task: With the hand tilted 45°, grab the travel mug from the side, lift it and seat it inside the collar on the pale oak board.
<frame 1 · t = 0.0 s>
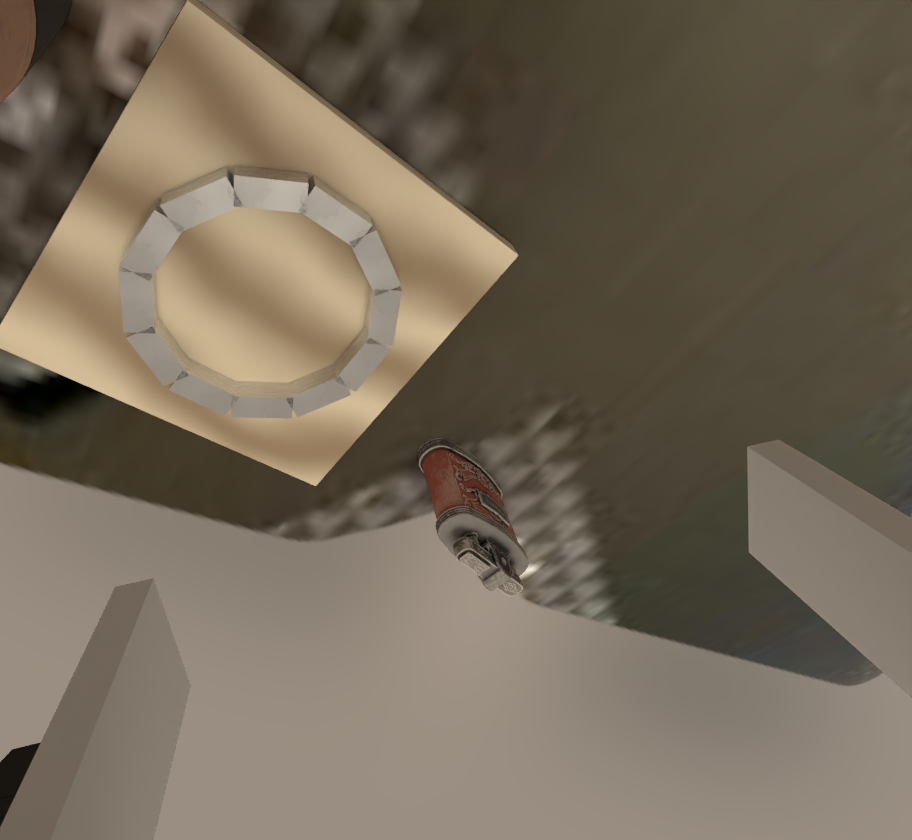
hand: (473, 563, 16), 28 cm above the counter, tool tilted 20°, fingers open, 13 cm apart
dock board: (265, 284, 41), on the counter
dock collar: (266, 304, 39), on the dock board, point 2 cm above the counter
lighter: (458, 470, 53), on the counter
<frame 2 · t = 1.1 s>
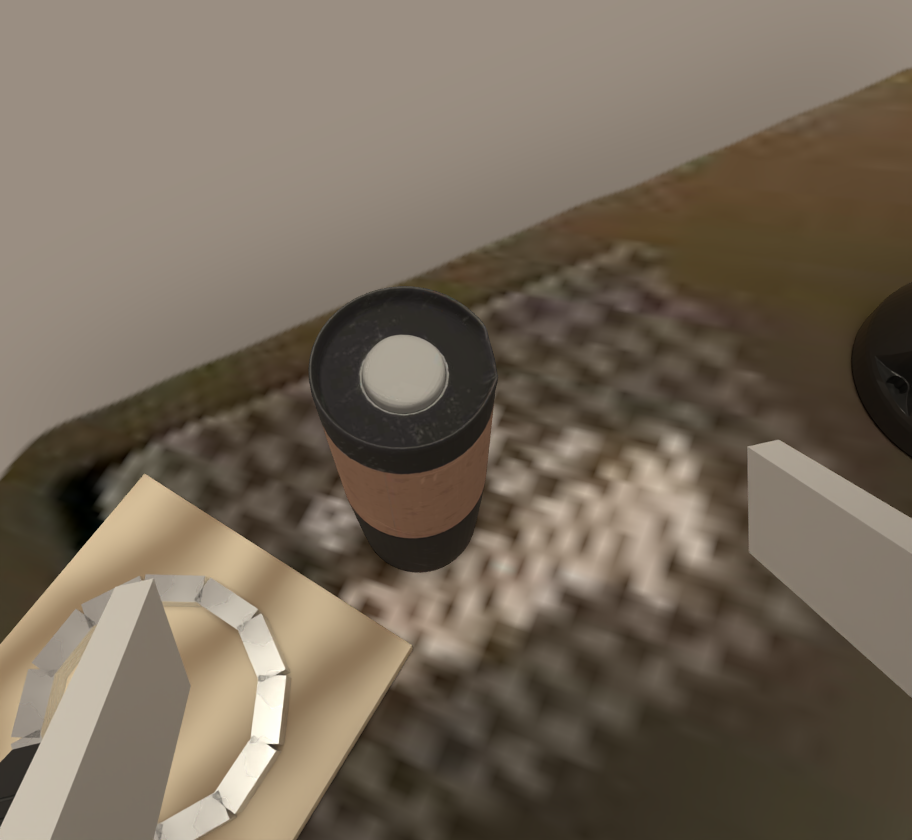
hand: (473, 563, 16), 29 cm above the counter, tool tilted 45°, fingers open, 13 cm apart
dock board: (170, 709, 42), on the counter
dock collar: (156, 706, 40), on the dock board, point 2 cm above the counter
travel mug: (419, 518, 47), on the counter
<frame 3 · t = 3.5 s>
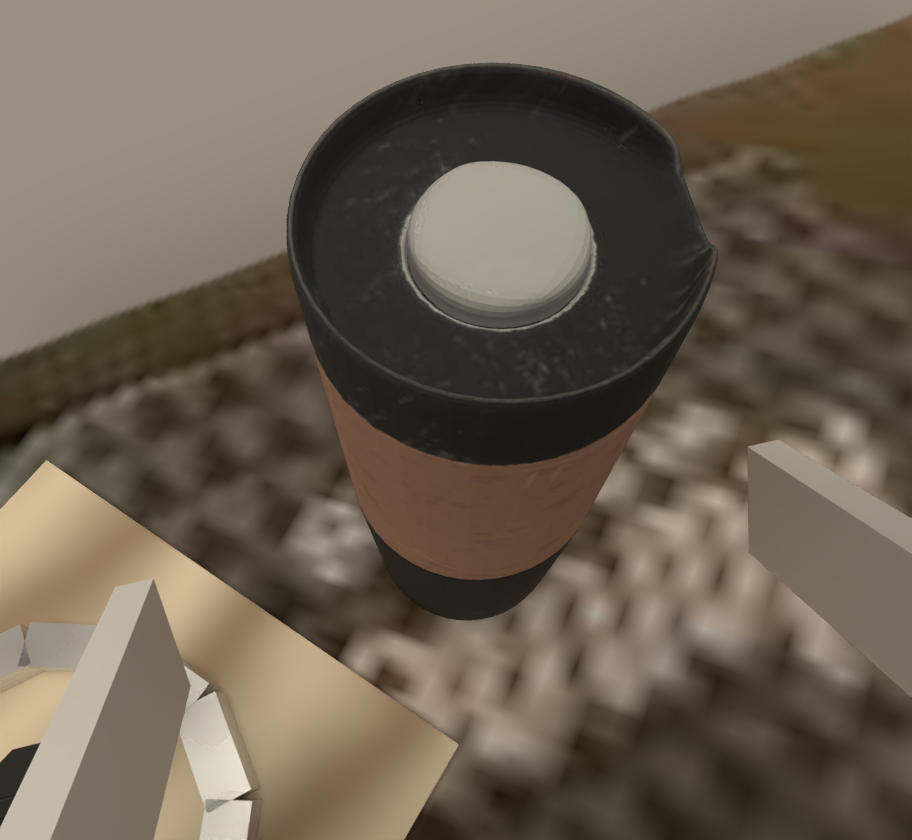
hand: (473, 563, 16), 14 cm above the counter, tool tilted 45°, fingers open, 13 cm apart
travel mug: (466, 535, 31), on the counter
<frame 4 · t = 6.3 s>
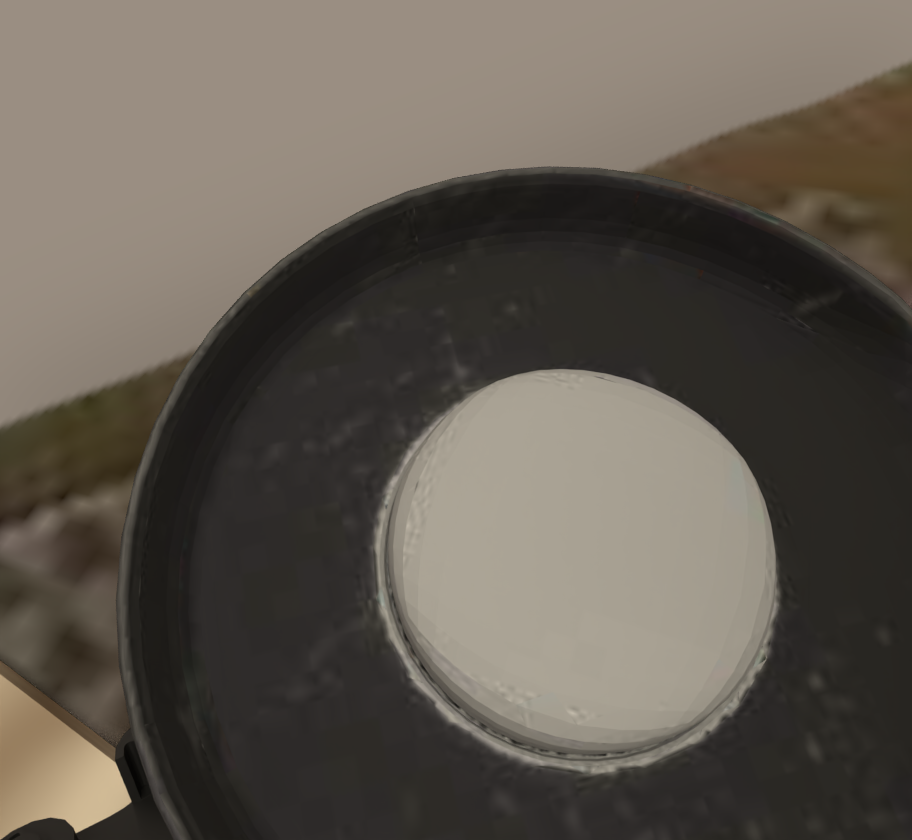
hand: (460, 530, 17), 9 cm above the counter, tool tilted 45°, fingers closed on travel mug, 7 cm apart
travel mug: (478, 708, 24), on the counter, touching gripper
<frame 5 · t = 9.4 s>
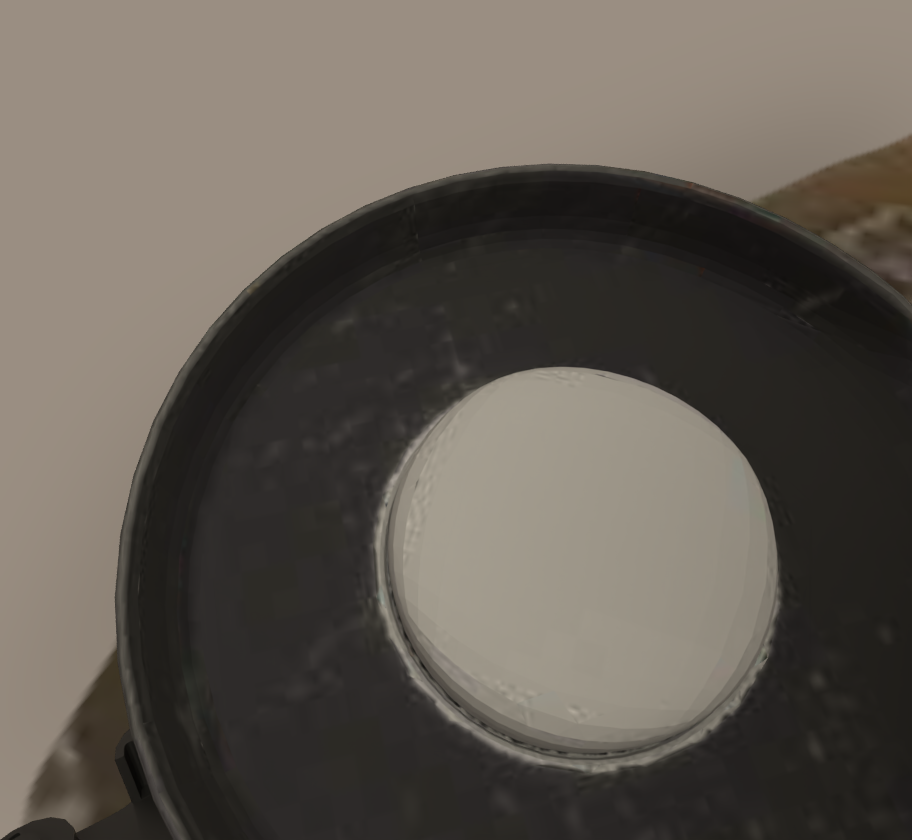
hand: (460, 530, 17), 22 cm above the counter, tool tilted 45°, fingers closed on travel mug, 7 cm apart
travel mug: (478, 708, 24), point 13 cm above the counter, touching gripper
when the fingers open (11 cm above the counter, at t = 12.6 s): travel mug drops 1 cm, resting on dock board.
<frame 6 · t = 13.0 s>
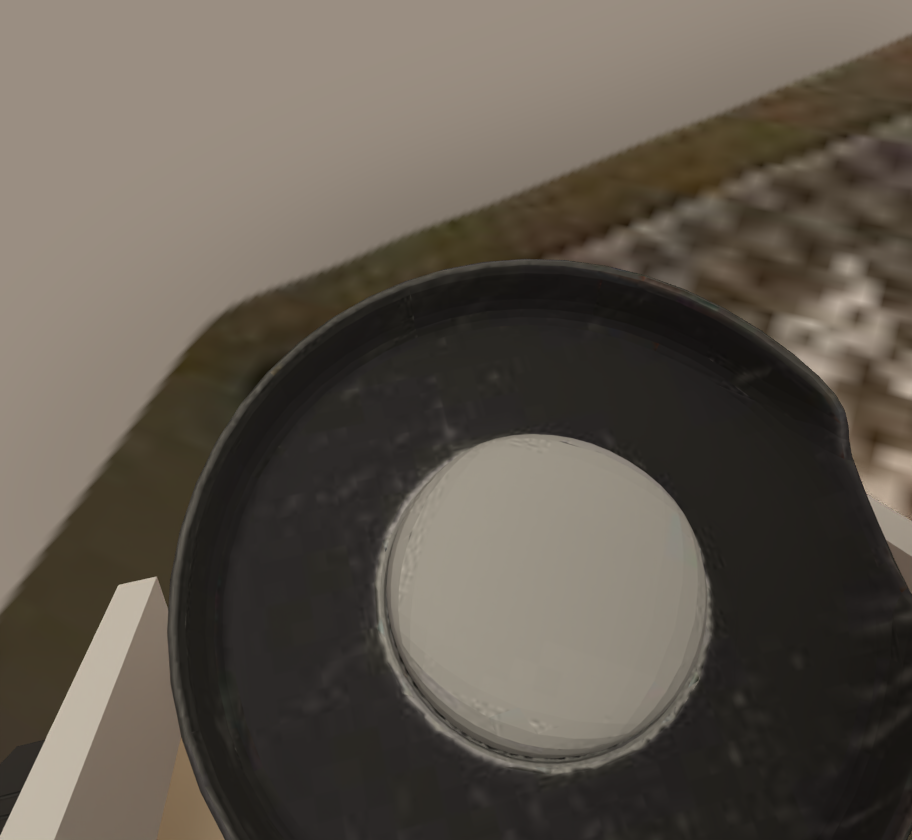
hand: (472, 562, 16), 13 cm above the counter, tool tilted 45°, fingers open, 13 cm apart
dock board: (475, 713, 27), on the counter
travel mug: (477, 713, 25), point 1 cm above the counter, touching dock board
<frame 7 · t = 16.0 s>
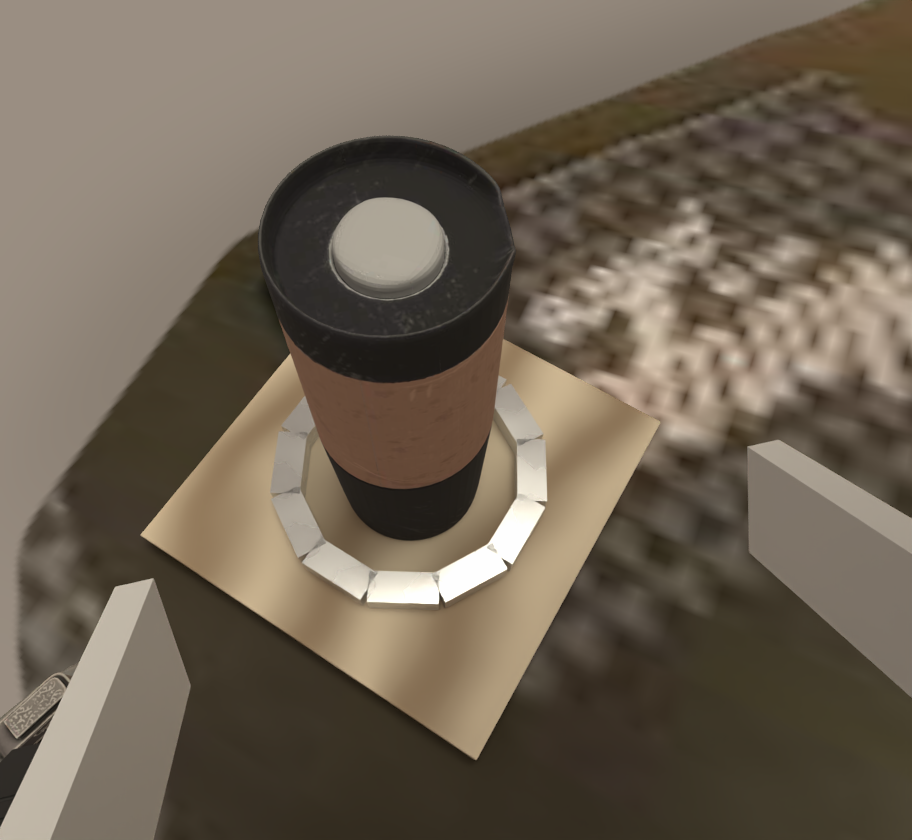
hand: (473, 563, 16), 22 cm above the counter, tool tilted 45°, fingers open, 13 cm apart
dock board: (412, 485, 41), on the counter
dock collar: (410, 470, 39), on the dock board, point 2 cm above the counter
travel mug: (411, 478, 39), point 1 cm above the counter, touching dock board
lighter: (104, 756, 35), on the counter
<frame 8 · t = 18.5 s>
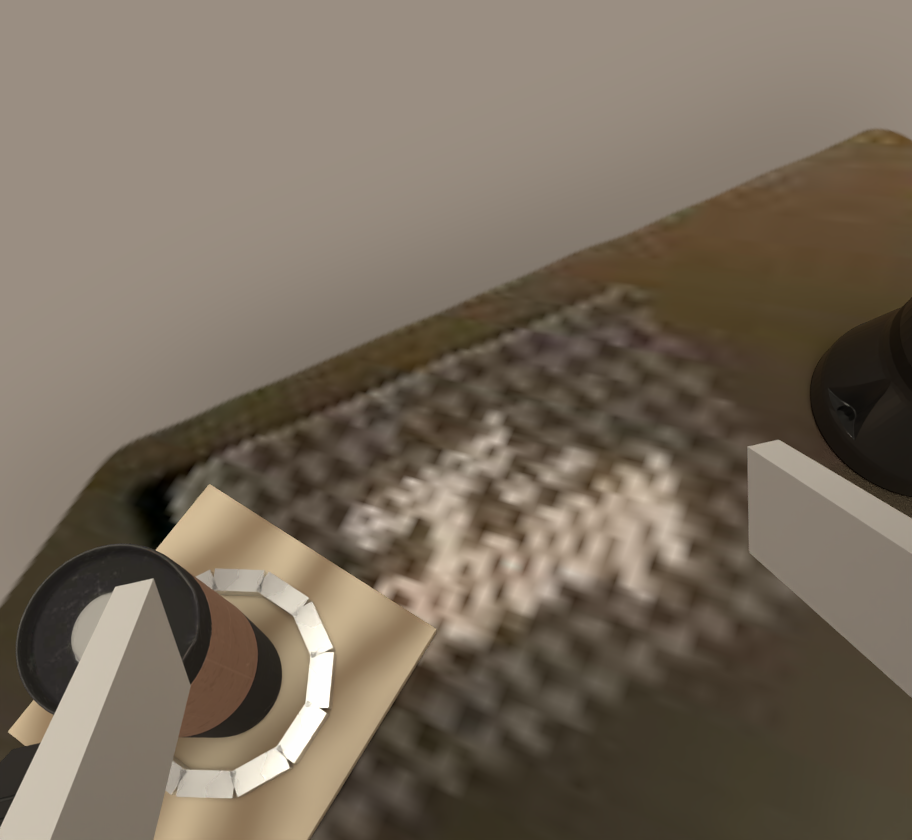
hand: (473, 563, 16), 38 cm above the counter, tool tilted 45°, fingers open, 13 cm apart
dock board: (234, 681, 50), on the counter
dock collar: (226, 677, 48), on the dock board, point 2 cm above the counter
travel mug: (230, 680, 49), point 1 cm above the counter, touching dock board
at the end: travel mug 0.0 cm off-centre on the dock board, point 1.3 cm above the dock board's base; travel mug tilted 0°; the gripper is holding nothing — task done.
